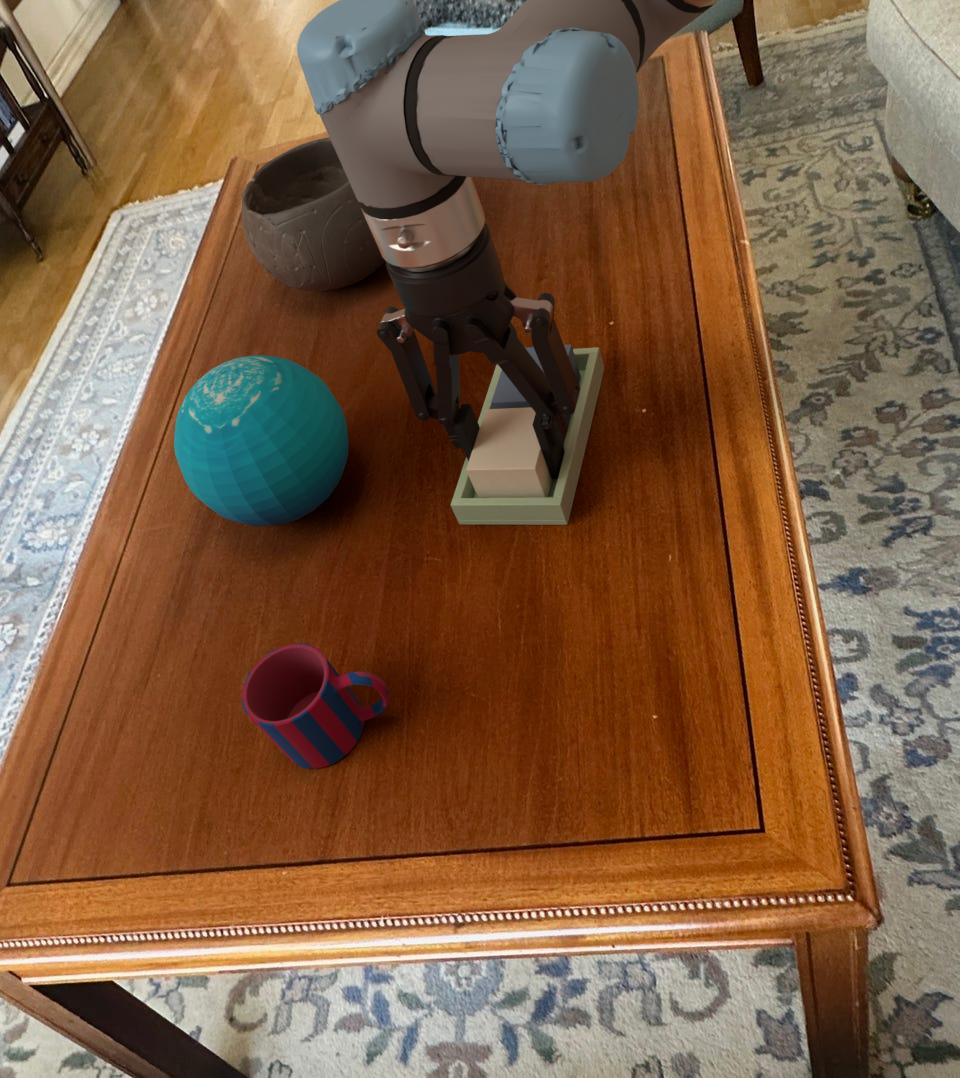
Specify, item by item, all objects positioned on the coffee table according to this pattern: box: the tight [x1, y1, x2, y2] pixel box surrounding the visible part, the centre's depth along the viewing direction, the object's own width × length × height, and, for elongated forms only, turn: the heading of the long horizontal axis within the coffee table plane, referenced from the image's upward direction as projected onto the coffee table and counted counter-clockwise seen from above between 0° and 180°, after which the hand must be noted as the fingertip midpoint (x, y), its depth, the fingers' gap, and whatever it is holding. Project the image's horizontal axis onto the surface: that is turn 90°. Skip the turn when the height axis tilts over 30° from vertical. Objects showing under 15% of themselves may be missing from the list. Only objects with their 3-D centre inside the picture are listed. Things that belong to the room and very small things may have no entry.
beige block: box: [466, 407, 552, 498], centre depth 83 cm, size 7×6×4 cm
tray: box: [450, 346, 605, 526], centre depth 86 cm, size 19×10×3 cm, turn 166°
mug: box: [241, 642, 391, 770], centre depth 71 cm, size 7×10×7 cm
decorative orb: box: [173, 354, 349, 527], centre depth 86 cm, size 15×15×15 cm
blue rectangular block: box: [491, 344, 581, 427], centre depth 87 cm, size 7×6×4 cm
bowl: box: [241, 136, 386, 292], centre depth 110 cm, size 18×18×13 cm
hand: (520, 467), depth 84 cm, fingers closed on beige block, 6 cm apart
